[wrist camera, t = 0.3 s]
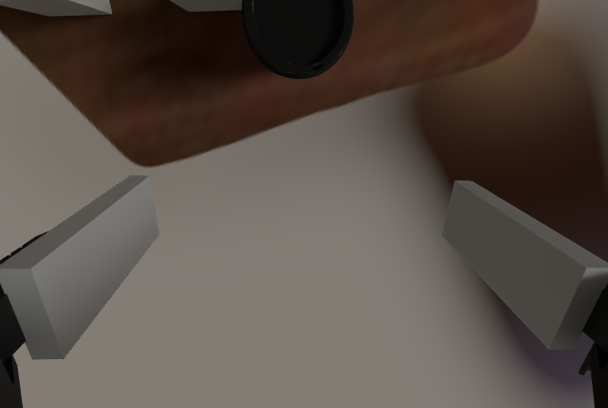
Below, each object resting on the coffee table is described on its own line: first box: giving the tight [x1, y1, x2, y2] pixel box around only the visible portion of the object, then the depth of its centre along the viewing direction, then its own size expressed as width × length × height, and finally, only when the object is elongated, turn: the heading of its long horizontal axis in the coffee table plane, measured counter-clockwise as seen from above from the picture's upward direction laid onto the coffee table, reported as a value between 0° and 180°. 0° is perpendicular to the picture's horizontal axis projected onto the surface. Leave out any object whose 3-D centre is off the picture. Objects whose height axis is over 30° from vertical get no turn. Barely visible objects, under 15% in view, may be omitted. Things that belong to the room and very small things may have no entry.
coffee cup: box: [242, 0, 354, 79], centre depth 28 cm, size 8×8×15 cm
